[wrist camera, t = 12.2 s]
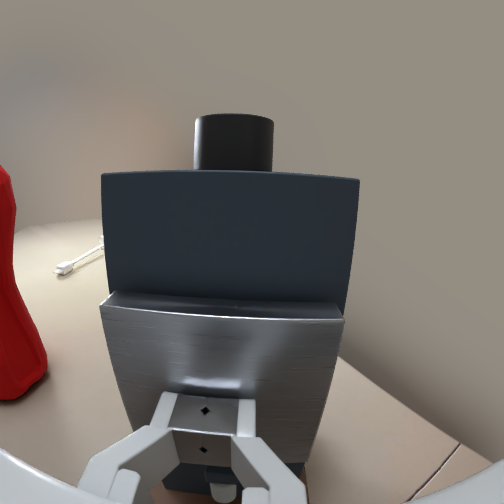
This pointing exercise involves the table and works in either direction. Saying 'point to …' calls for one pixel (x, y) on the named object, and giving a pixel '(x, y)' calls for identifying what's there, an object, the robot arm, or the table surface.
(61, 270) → the charging cable
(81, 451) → the table surface
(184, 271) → the dispenser
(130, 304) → the brushed metal plate
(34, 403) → the table surface
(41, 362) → the water bottle
